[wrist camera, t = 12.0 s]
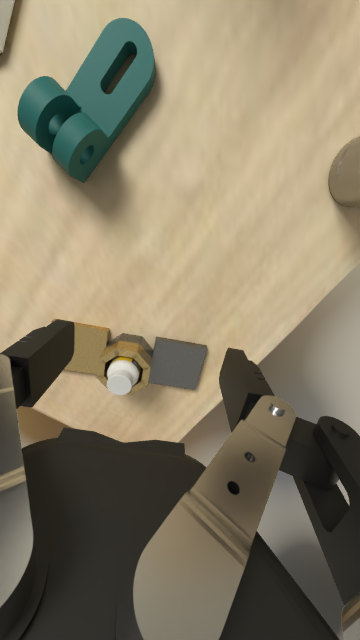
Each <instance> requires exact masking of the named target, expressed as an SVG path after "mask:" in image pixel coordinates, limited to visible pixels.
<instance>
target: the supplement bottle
mask: <svg viewBox="0 0 360 640" xmlns="http://www.w3.org/2000/svg"><path fill="white" fill-rule="evenodd" d="M140 370H141V366H140V365H139V364H138V362H137V361H136V360H135V359H134V358H131V357H125V356H119V355H117V356H116V357H114V358H113V360H112V362H111V364H110V366H109V368H108V371H107V377H108V381H107V388H108V390H109V391H110V392H111V393H113V394H115V395H125V394H127V393H129V392H130V390H131V388H132V386H133V385H134V384H135V383H136V382H137V380H138V378H139V374H140Z"/></svg>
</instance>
